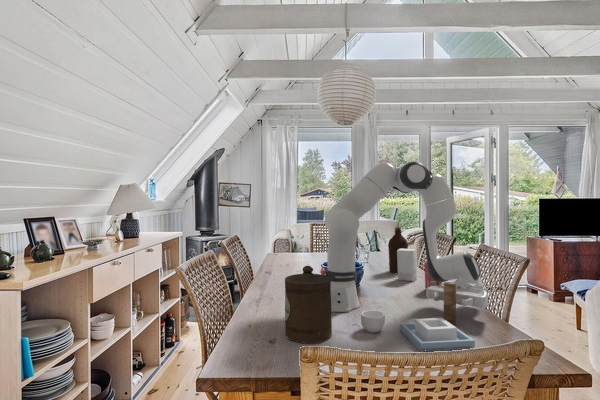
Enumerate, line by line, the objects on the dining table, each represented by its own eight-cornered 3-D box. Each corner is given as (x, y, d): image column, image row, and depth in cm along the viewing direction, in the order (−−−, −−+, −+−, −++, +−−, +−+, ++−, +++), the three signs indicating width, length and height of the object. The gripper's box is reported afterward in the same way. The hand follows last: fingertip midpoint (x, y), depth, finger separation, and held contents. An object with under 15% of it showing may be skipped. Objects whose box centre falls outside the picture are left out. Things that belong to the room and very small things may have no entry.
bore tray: (421, 352, 106) (421, 334, 106) (400, 331, 122) (400, 315, 122) (474, 349, 108) (474, 331, 108) (447, 328, 124) (447, 313, 124)
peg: (447, 326, 126) (447, 284, 125) (441, 322, 130) (441, 282, 129) (458, 325, 126) (458, 284, 126) (452, 321, 130) (452, 281, 130)
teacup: (382, 336, 118) (382, 319, 118) (358, 332, 121) (358, 316, 121) (388, 325, 127) (388, 309, 127) (365, 322, 130) (365, 307, 130)
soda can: (442, 292, 167) (442, 263, 167) (425, 291, 168) (425, 263, 168) (440, 288, 174) (440, 260, 174) (424, 287, 175) (423, 260, 175)
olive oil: (411, 271, 210) (410, 227, 210) (403, 275, 202) (403, 228, 202) (393, 269, 217) (393, 226, 216) (385, 272, 209) (384, 227, 208)
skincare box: (417, 279, 192) (417, 249, 192) (413, 282, 187) (413, 250, 186) (400, 277, 197) (400, 247, 196) (396, 280, 191) (396, 249, 191)
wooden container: (296, 324, 130) (295, 260, 129) (337, 329, 124) (337, 263, 123) (277, 339, 116) (276, 269, 115) (322, 347, 110) (322, 272, 110)
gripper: (433, 279, 145) (419, 286, 134) (491, 288, 132) (481, 296, 121) (433, 295, 145) (419, 304, 134) (491, 305, 132) (481, 316, 121)
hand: (449, 300), depth 128 cm, fingers open, 8 cm apart
